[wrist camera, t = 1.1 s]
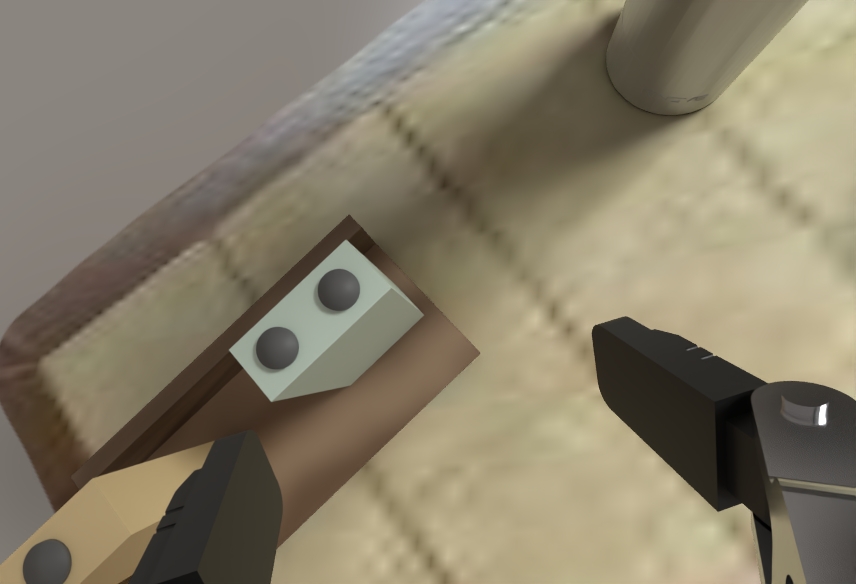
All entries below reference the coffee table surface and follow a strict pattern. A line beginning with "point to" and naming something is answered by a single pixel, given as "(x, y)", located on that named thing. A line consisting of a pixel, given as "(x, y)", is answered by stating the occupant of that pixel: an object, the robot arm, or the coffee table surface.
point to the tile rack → (297, 398)
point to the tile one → (103, 525)
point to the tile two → (326, 328)
